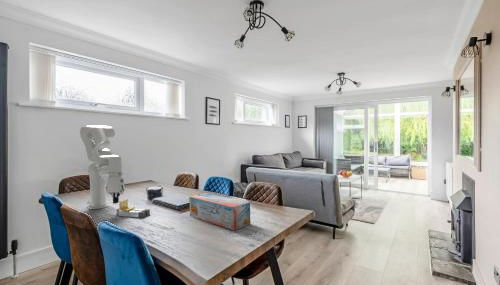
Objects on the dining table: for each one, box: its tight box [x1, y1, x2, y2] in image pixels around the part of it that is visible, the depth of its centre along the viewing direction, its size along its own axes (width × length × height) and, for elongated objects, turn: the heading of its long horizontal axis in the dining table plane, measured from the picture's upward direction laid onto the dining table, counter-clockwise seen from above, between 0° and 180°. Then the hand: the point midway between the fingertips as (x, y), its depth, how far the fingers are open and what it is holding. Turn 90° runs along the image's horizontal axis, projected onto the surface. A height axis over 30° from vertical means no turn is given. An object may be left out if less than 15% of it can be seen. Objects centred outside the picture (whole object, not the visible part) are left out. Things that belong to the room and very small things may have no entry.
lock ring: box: [118, 198, 136, 211], centre depth 157 cm, size 6×7×6 cm
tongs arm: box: [116, 208, 147, 219], centre depth 156 cm, size 22×5×3 cm, turn 76°
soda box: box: [188, 192, 251, 232], centre depth 146 cm, size 41×14×13 cm, turn 49°
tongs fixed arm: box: [131, 208, 151, 217], centre depth 158 cm, size 18×3×3 cm, turn 77°
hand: (115, 202), depth 159 cm, fingers closed
